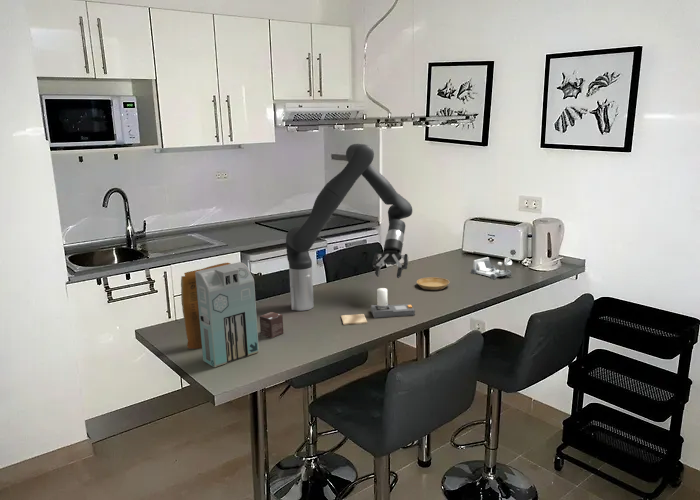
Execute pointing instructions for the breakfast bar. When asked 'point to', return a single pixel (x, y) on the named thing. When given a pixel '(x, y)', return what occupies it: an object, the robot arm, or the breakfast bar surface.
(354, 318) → the cork coaster
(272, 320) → the box
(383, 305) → the plug
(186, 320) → the pancake mix bag
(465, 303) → the breakfast bar surface
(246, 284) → the device
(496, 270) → the white wheeled toy
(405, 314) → the grey charging base
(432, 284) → the plant saucer
